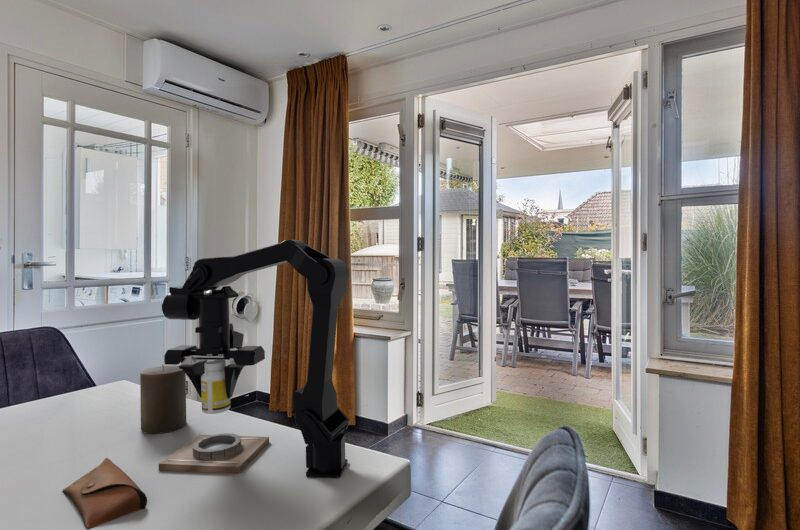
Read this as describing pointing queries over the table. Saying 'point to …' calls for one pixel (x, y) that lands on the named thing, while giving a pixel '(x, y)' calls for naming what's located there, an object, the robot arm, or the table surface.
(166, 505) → the table surface
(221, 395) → the supplement bottle
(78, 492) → the sunglasses case
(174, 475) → the table surface
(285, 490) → the table surface
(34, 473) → the table surface
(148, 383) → the pillar candle
